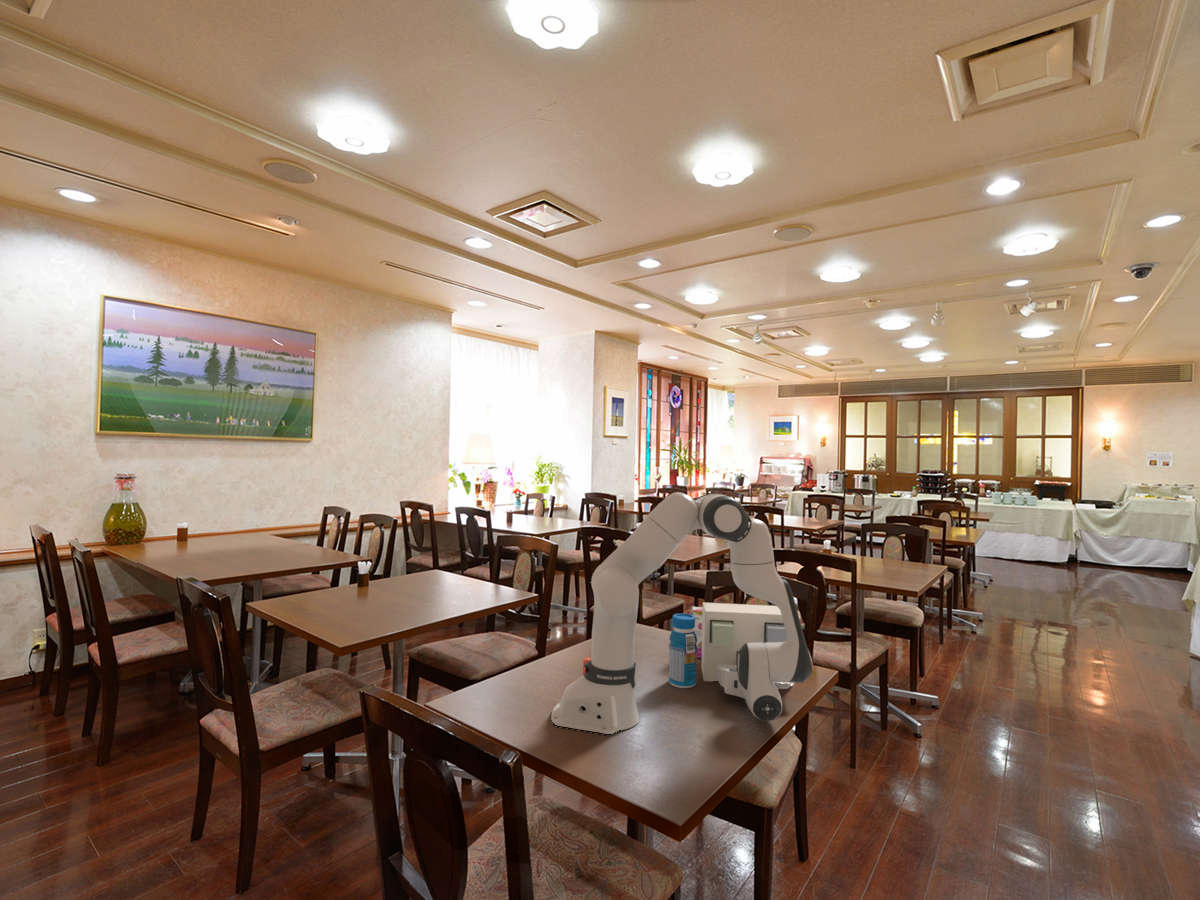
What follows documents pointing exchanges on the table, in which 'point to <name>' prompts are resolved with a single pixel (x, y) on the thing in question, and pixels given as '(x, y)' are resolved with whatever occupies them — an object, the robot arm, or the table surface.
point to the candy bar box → (698, 628)
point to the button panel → (746, 630)
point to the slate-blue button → (775, 632)
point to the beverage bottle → (683, 652)
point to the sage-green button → (722, 633)
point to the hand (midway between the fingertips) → (749, 665)
